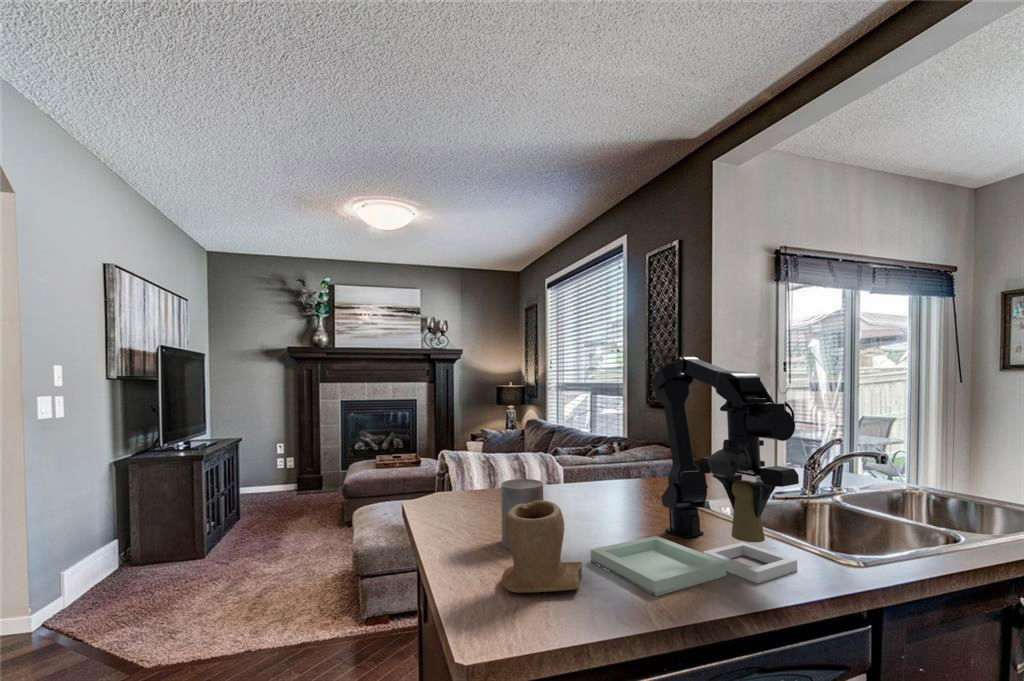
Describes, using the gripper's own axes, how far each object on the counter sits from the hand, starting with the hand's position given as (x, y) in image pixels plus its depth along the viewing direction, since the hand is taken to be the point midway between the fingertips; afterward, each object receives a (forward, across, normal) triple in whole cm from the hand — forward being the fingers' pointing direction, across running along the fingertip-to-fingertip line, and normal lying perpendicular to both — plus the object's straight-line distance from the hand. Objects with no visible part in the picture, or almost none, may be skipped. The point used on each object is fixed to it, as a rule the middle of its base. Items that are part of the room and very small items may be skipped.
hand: (747, 513), depth 96 cm
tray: (+10, -8, -17) cm, 21 cm away
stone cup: (+10, -11, -41) cm, 44 cm away
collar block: (+10, 0, 0) cm, 10 cm away
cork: (+5, 0, 0) cm, 5 cm away
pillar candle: (+10, -33, -33) cm, 48 cm away
